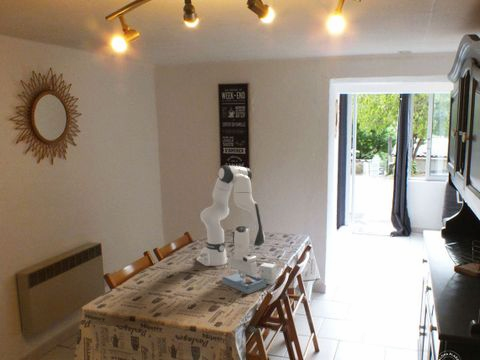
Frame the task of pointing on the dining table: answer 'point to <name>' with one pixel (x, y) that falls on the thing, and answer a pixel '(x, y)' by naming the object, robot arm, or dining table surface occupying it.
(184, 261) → the dining table surface
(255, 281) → the blue tray
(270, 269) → the small box
